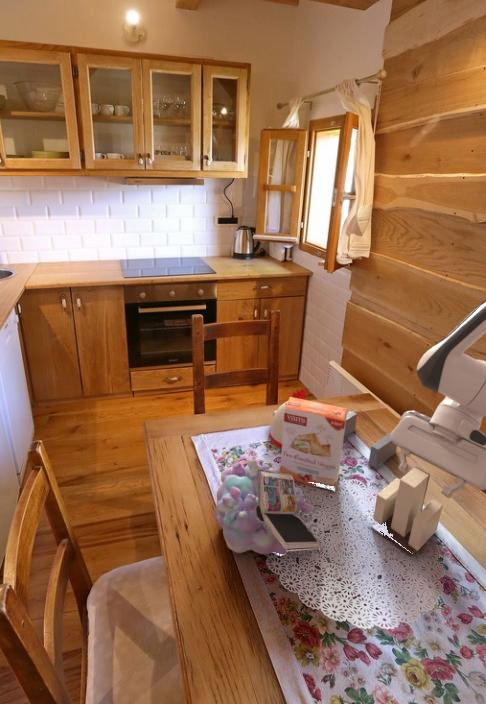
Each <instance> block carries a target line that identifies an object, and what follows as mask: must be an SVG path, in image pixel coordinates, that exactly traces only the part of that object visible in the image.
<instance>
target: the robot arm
mask: <svg viewBox="0 0 486 704" xmlns="http://www.w3.org/2000/svg"><path fill="white" fill-rule="evenodd" d="M485 334H486V299H485V300H484V301H482V302H481V303H480V304H479V305H477V307H475V308H474V309H473V310H472V311H471V312H470V313H469V314H468V315H467V316H466V317H464V319H463V320H461V321H460V322H459V323H458V324H457V325H456V326H455V327H454V328H453V329H452V330H451V331H450V332H448V333H447V335H446V336H444V337H443V338H442V339H441V340H439V341H438V342H437V343H435V344H434V345H433V346H432V347H431V348H429V349H428V350H427V351H426V352H425V353H424V354H422V356H421V358H420V359H419V360H418V364H417V366H416V369H415V372H416V375H417V377H418V380H419V382H420V384H421V385H422V387H423V388H426V389H429V390H431V391H434V392H435V393H437V394H438V393H439V394H441V395H442V396H444V399H443V400H442V401H441V402H440V403H439V404H438V405H437V408H436V409H435V411H434V413H433V414H432V416H431V417H430V416H428V415H425V414H423V413H420V412H419V411H417V410H407V411H404V412H403V414H402V415H401V417H400V420H399V422H398V423H397V425H396V426H395V428H394V429H393V430H392V431H391V432H392V434H391V436H390V437H391V441H392V442H393V443H394V444H395V445H396V446H397V447H399V449H401V450H400V461H401V462H399V465H398V467H397V468H398V470H400V471H401V472H403V473H404V474H407V473H408V470H409V469H410V467H411V466H410V465H409V464H408V463H407V458H409V457H410V456H411V454H412V455H413V456H415V457H417V458H419V459H420V460H422V461H425V462H426V463H428V464H430V465H432V466H434V467H435V468H438V469H439V470H441V471H443V472H445V473H447V474H449V475H451V476H452V477H455V479H454V482H455V483H454V484H453V485H450V486H447V485H444V486H443V489H442V490H441V495H443V496H444V497H446V498H448V499H450V498H452V496H453V494H454V492H457V491H459V490H461V489H463V488H464V486H465V485H466V484H467V485H469V486H471V487H473V488H475V489H477V490H479V491H484V490H486V434H485V433H484V432H483V431H481V430H480V428H481V426H482V422H483V418H484V417H485V418H486V360H483V359H476V358H474V357H472V356H470V355H468V354H465V353H464V352H465V351H466V350H468V349H469V348H470V347H472V345H474V344H475V343H476V342H477V341H478V340H479V339H480V338H481V337H483V336H484V335H485Z"/></svg>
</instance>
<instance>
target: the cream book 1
mask: <svg viewBox="0 0 486 704" xmlns="http://www.w3.org/2000/svg"><path fill="white" fill-rule="evenodd" d="M400 479H401V478H398V477H396V478H395V479H393V481H391V482H390V483H389V484H388V485H387V486H386V487H384V488H383V489H382V490H380V491H379V492H378V493H377V494H376V500H375V505H374V511H373V515H372V516H373V517H372V520H373V519H374V520H373V521H377V522H378V523H379V524H381V525H382V524H383V523H384V522H385V521H386V520H387V519H388V518H389V517H390V516H391V515H393V514H394V509H395V504H396V499H397V494H398V489H399V484H400Z"/></svg>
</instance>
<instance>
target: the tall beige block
mask: <svg viewBox="0 0 486 704" xmlns="http://www.w3.org/2000/svg"><path fill="white" fill-rule="evenodd" d="M430 476H431V474H430V473H429V472H427V471H425V470H424V469H422V468H420V467H418V466H414V467H413V468H412V469H411V470H409V471H408V472H406V473H405V474H404V475H403V476H402V477H401V478H399V479H400V484H399V489H398V494H397V499H396V504H395V509H394V514H393V519H392V524H391V528H392V529H393V530H395V531H396V532H397V533H399V534H400V535H402V536H403V537H405V536H406V535H407V534H408V533H409V532H410V531H411V530H412V525H413V520H414V518H415V517H416V516H417V515H418V514H419V513H420V512H421V511H422V510H423V509H424V508H423V507H424V504H425V500H426V499H425V498H426V495H427V490H428V486H429V485H428V484H429V481H430Z"/></svg>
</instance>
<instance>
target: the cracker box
mask: <svg viewBox="0 0 486 704" xmlns="http://www.w3.org/2000/svg"><path fill="white" fill-rule="evenodd" d="M287 401H288V402H287ZM287 401H286V402H287V405H286V407H285V413H284V425H283V439H282V449H281V452H280V453H281V455H280V467H279V473H284V474H290V475H292V477H293V479H294V482H297V483H300V484H304V485H308V486H311V487H315V486H316V484H312V483H308V482H314V483H320V484H324V485H329V486H334V487H336V488H337V486H338V480H339V474H340V468H341V461H342V453H343V447H344V439H345V437H344V432H345V424H346V417H347V413H348V408H346V407H341V406H336V405H332V404H326V403H322V402H317V401H316V402H315V401H311V400H308V399H304V400H303V399H298V398H293V396H290V397H288V400H287ZM314 485H315V486H314ZM336 485H337V486H336Z"/></svg>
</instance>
